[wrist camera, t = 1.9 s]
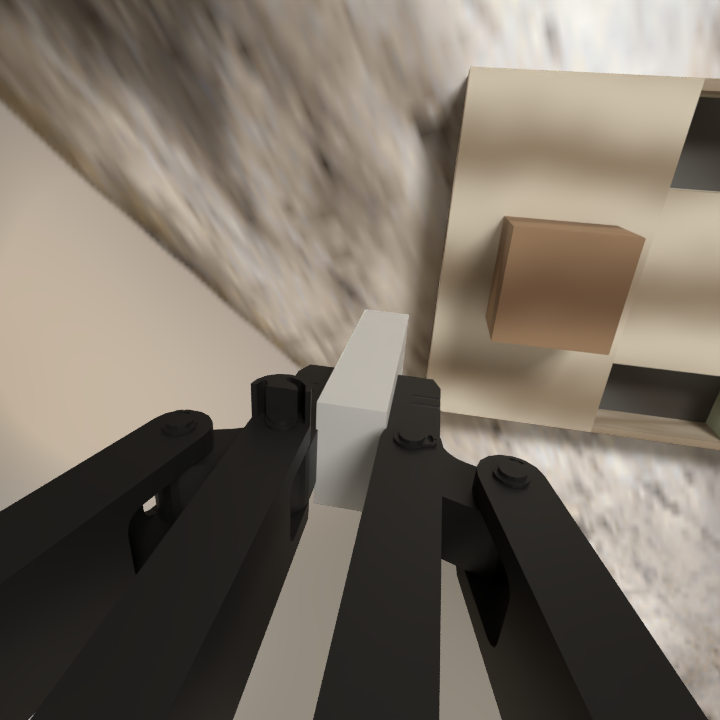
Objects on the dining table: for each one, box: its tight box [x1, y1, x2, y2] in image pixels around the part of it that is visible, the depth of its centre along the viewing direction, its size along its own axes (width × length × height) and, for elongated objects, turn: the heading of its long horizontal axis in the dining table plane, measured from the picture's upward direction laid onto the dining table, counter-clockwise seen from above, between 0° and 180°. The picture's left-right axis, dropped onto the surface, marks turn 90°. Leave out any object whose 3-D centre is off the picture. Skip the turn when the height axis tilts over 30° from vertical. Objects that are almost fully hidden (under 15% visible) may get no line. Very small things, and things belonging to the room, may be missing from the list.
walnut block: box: [485, 216, 646, 355], centre depth 25 cm, size 6×6×4 cm
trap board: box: [426, 67, 720, 450], centre depth 26 cm, size 20×30×6 cm, turn 86°
